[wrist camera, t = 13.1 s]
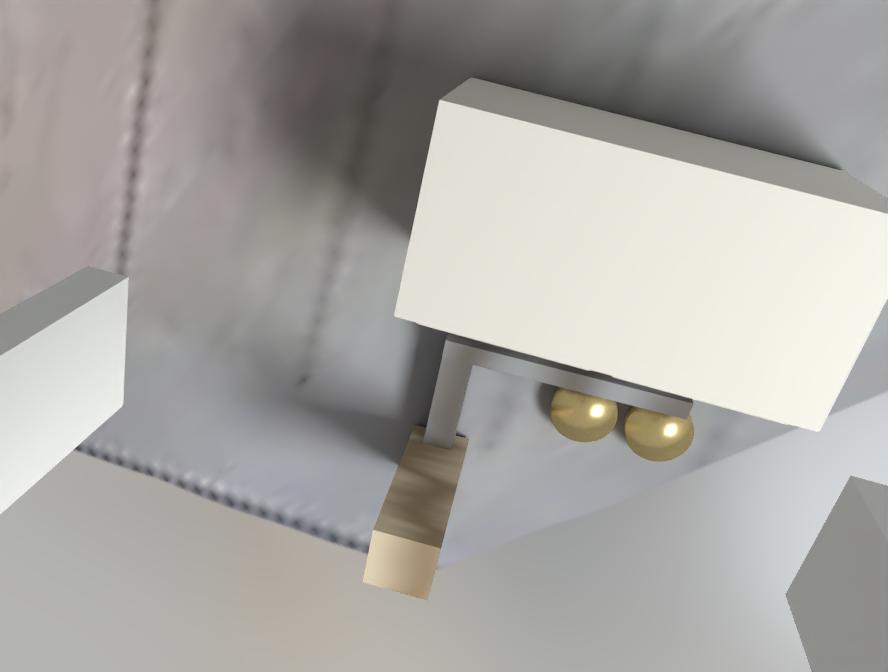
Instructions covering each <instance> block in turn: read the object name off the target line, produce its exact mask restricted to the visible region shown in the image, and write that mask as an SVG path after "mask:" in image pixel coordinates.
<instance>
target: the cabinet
mask: <svg viewBox="0 0 888 672" xmlns="http://www.w3.org/2000/svg"><path fill="white" fill-rule="evenodd" d="M887 298H888V198H886V197H885V196H883V195H881V194H880V193H878V192H877V191H875V190H874V189H872V188H871V187H869V186H868V185H866V184H865V183H863V182H862V181H860V180H859V179H857V178H855V177H854V176H852V175H851V174H849V173H848V172H845V171H841V170H837V169H833V168H829V167H825V166H821V165H817V164H813V163H810V162H806V161H802V160H798V159H794V158H790V157H786V156H782V155H778V154H774V153H770V152H766V151H762V150H758V149H754V148H750V147H746V146H742V145H738V144H734V143H730V142H726V141H722V140H718V139H714V138H710V137H706V136H702V135H698V134H695V133H691V132H687V131H683V130H679V129H675V128H671V127H667V126H663V125H659V124H655V123H651V122H647V121H643V120H639V119H635V118H631V117H627V116H623V115H619V114H615V113H611V112H607V111H603V110H599V109H595V108H591V107H587V106H583V105H580V104H576V103H572V102H568V101H564V100H560V99H556V98H552V97H548V96H544V95H540V94H536V93H532V92H528V91H524V90H520V89H516V88H512V87H508V86H504V85H500V84H496V83H492V82H488V81H484V80H480V79H476V78H472V77H471V78H469V79H468V80H466V81H465V82H464V83H462V84H461V85H459V86H458V87H457V88H455V89H454V90H452V91H451V92H450V93H448V94H447V95H445V96H444V97H442V98H441V99H440V100H439V104H438V109H437V113H436V118H435V123H434V128H433V132H432V137H431V142H430V147H429V152H428V156H427V161H426V166H425V171H424V175H423V180H422V185H421V190H420V194H419V199H418V204H417V209H416V214H415V218H414V223H413V228H412V233H411V237H410V242H409V247H408V252H407V256H406V261H405V266H404V271H403V276H402V280H401V285H400V290H399V295H398V299H397V304H396V309H395V314H394V317H398V318H402V319H405V320H409V321H413V322H416V323H417V324H419V325H423V326H427V327H430V328H434V329H438V330H441V331H445V332H449V333H452V334H456V335H460V336H463V337H467V338H471V339H474V340H478V341H482V342H485V343H489V344H493V345H496V346H500V347H504V348H507V349H511V350H515V351H518V352H522V353H526V354H529V355H533V356H537V357H540V358H544V359H548V360H551V361H555V362H559V363H562V364H566V365H570V366H573V367H577V368H581V369H584V370H588V371H590V370H593V371H596V372H600V373H604V374H607V375H611V376H612V377H614V378H617V379H621V380H625V381H628V382H632V383H636V384H639V385H643V386H647V387H650V388H654V389H658V390H661V391H665V392H669V393H672V394H676V395H680V396H683V397H687V398H691V399H694V400H698V401H702V402H705V403H709V404H713V405H716V406H720V407H724V408H728V409H731V410H735V411H739V412H742V413H746V414H750V415H753V416H757V417H761V418H764V419H768V420H772V421H775V422H779V423H783V424H786V425H795V426H798V427H802V428H806V429H810V430H813V431H817V432H819V431H820V429H821V427H822V425H823V424H824V422H825V420H826V418H827V416H828V414H829V412H830V410H831V408H832V406H833V404H834V402H835V400H836V398H837V396H838V394H839V392H840V390H841V388H842V386H843V384H844V382H845V381H846V379H847V377H848V375H849V373H850V371H851V369H852V367H853V365H854V363H855V361H856V359H857V357H858V355H859V353H860V351H861V349H862V347H863V345H864V343H865V341H866V339H867V338H868V336H869V334H870V332H871V330H872V328H873V326H874V324H875V322H876V320H877V318H878V316H879V314H880V312H881V310H882V308H883V306H884V304H885V302H886V300H887Z"/></svg>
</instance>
